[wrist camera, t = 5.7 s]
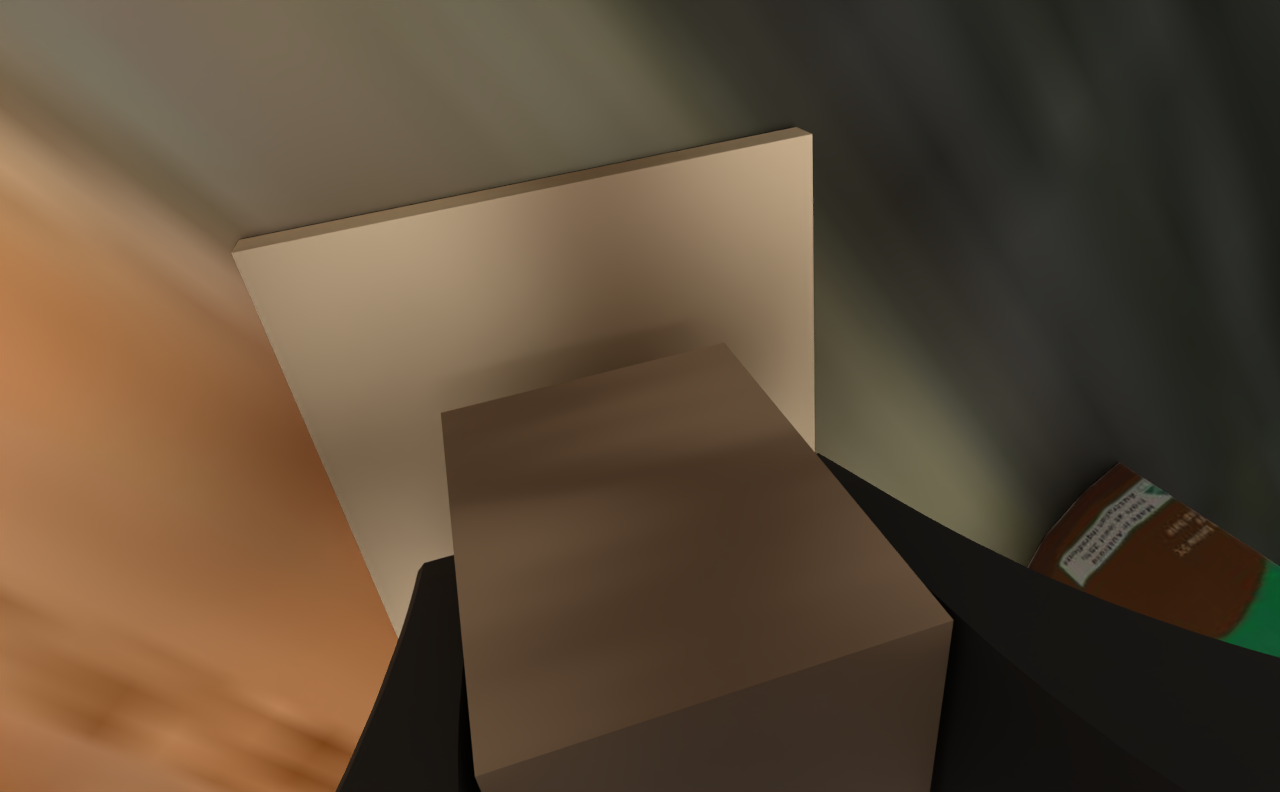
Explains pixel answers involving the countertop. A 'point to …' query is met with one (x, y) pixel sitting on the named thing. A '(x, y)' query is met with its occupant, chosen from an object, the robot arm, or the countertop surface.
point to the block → (680, 596)
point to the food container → (1163, 562)
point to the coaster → (528, 313)
